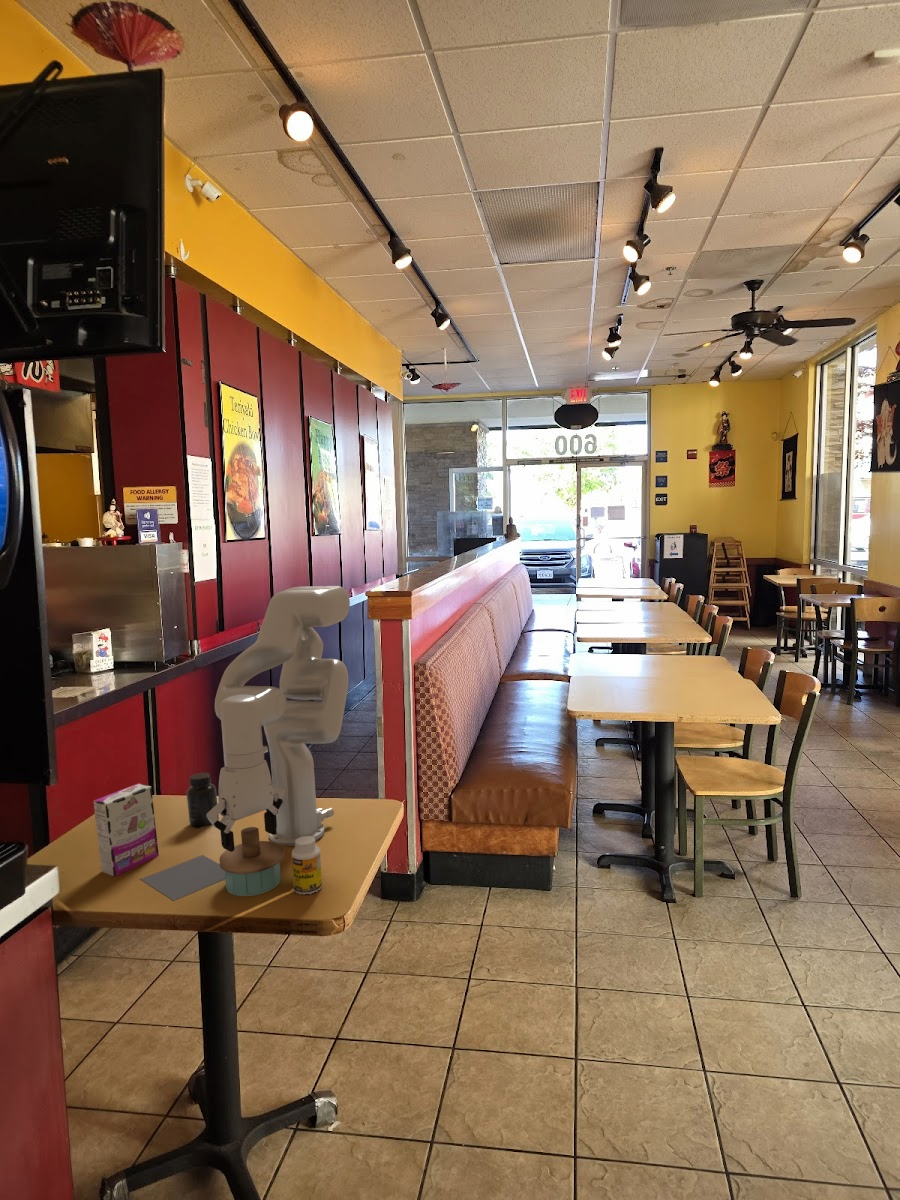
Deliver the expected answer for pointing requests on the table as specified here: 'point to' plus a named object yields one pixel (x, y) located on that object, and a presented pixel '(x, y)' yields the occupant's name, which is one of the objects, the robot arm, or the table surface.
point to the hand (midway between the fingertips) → (250, 841)
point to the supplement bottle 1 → (200, 799)
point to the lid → (251, 854)
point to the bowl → (253, 881)
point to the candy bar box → (126, 829)
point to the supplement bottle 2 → (306, 866)
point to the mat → (186, 877)
